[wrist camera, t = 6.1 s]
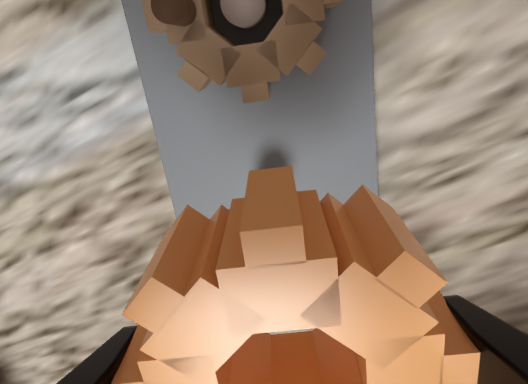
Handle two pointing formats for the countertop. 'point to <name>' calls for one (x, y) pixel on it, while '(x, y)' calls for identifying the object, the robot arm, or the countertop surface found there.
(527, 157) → the countertop surface
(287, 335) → the orange gear
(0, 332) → the countertop surface
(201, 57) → the birch gear
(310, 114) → the gear board
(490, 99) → the countertop surface
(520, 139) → the countertop surface
